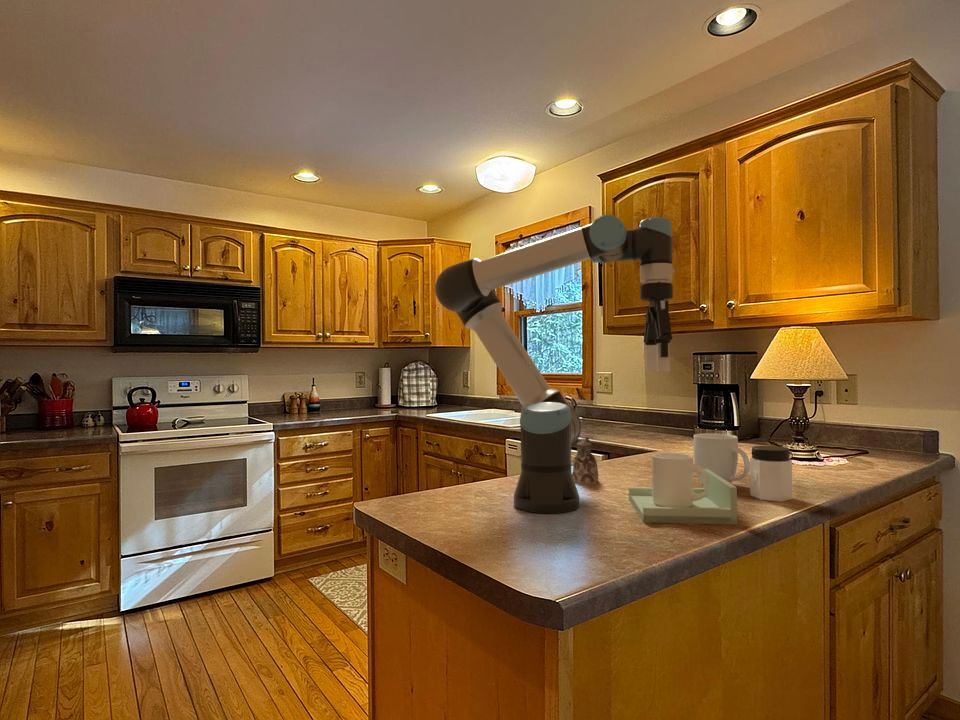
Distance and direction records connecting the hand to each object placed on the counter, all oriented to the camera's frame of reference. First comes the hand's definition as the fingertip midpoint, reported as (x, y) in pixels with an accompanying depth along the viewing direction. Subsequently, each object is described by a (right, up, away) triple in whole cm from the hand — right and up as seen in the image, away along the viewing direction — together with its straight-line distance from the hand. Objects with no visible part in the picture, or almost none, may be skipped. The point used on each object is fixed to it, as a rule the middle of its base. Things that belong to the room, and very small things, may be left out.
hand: (657, 371), depth 135 cm
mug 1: (+1, -29, -12) cm, 32 cm away
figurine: (-14, -31, +21) cm, 40 cm away
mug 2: (+21, -31, +14) cm, 40 cm away
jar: (+27, -31, 0) cm, 41 cm away
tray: (+1, -31, -11) cm, 33 cm away
